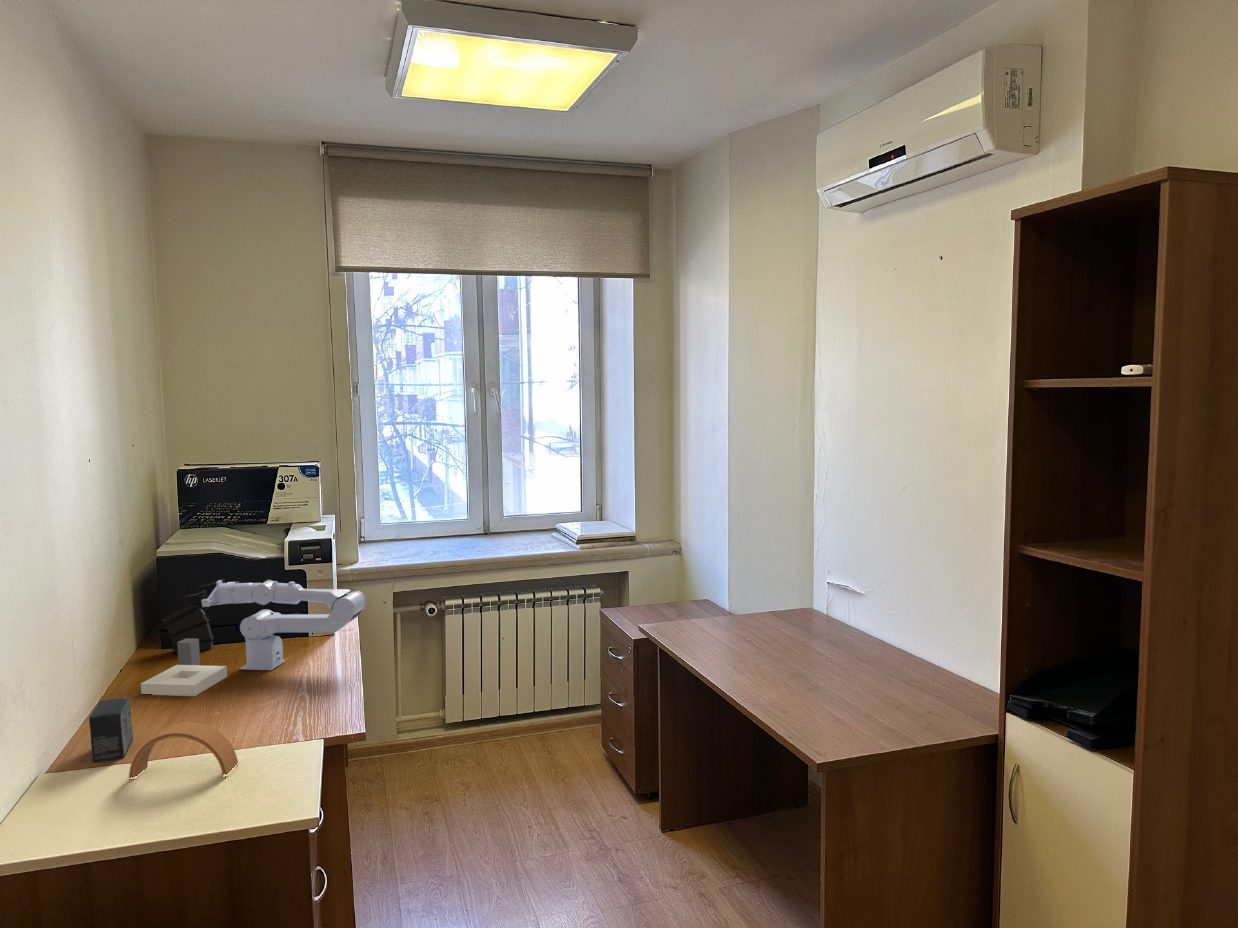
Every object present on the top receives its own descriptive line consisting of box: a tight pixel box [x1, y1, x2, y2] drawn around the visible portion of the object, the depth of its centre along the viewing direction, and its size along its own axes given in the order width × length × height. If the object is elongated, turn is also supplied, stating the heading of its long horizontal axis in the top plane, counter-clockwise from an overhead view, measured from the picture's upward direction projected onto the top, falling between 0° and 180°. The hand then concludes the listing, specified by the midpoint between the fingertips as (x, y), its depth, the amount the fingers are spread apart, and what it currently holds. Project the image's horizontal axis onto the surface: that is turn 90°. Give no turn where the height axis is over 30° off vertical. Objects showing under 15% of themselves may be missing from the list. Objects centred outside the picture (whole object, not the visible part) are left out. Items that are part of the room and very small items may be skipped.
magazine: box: [161, 605, 214, 654], centre depth 259 cm, size 4×13×15 cm, turn 109°
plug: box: [177, 638, 201, 665], centre depth 243 cm, size 4×4×8 cm
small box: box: [88, 696, 134, 763], centre depth 187 cm, size 11×6×10 cm, turn 21°
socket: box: [140, 664, 228, 697], centre depth 229 cm, size 15×15×3 cm
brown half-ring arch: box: [128, 721, 239, 779], centre depth 176 cm, size 6×20×10 cm, turn 91°
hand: (192, 595), depth 244 cm, fingers open, 7 cm apart
